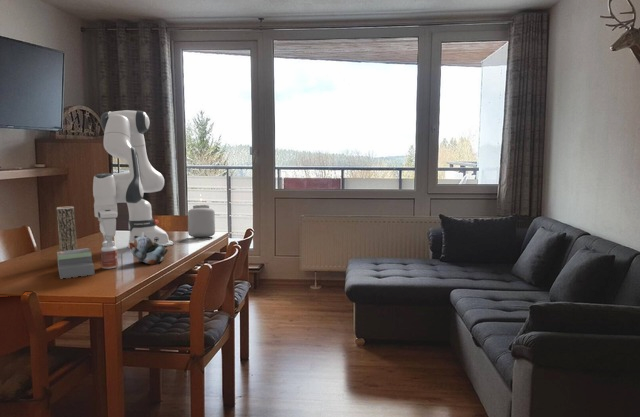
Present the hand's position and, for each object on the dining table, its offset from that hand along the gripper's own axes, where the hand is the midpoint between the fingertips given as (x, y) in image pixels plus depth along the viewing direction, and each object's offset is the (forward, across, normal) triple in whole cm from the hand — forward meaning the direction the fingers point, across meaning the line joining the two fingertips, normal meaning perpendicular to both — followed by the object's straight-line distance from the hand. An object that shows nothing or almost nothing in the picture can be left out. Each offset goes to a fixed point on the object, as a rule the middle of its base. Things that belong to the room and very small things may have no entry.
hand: (108, 244), depth 200 cm
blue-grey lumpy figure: (+10, -1, +16) cm, 19 cm away
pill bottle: (+10, 0, 0) cm, 10 cm away
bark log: (+10, -22, -14) cm, 27 cm away
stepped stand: (+10, +1, -13) cm, 16 cm away
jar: (+9, -50, +56) cm, 75 cm away
